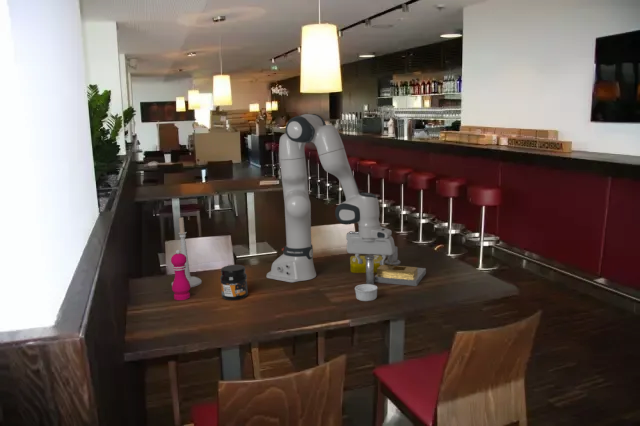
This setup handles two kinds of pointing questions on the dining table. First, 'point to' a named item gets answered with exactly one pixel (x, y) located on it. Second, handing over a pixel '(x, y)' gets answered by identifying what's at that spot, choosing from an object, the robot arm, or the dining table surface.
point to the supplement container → (233, 282)
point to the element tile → (363, 264)
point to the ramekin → (366, 292)
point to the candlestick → (192, 280)
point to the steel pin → (369, 269)
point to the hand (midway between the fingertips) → (371, 264)
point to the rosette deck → (398, 272)
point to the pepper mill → (180, 277)
